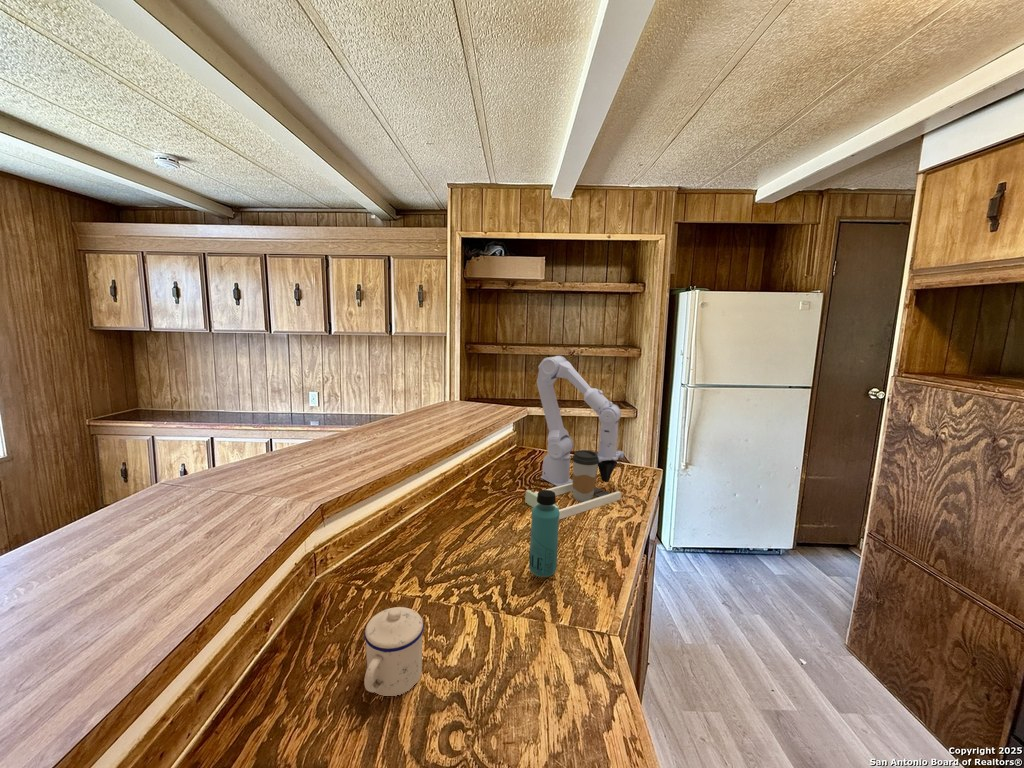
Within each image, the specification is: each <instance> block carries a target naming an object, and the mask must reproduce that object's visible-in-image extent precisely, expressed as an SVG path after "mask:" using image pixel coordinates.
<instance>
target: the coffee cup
mask: <svg viewBox="0 0 1024 768" xmlns="http://www.w3.org/2000/svg"><path fill="white" fill-rule="evenodd" d="M598 463H599V458H598V452H595V451H592V450H585V449H582V450H580V449H579V450H575V451H574V454H573V455H572V480H573V491H572V496H573V499H574V500H575V501H578V502H579V503H582V502H585V501H589V500H592V499H594V495H595V494H594V488H595V487H596V480H597V472H598V468H599V467H598Z"/></svg>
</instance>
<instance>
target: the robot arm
mask: <svg viewBox="0 0 1024 768" xmlns="http://www.w3.org/2000/svg"><path fill="white" fill-rule="evenodd" d="M537 367H538V373H537V379H536V387H537V390H538V395H539V397H540V398H539V399H540V402H541V406H542V410H543V414H544V418H545V422H546V425H547V429H548V433H547V434H548V435H547V440H546V441H547V448H546V449H547V454H545V456H544V457H543V460H542V461H543V462H542V475H541V476H540V478H541V479H543V480H544V481H547V482H548V483H550V484H552V485H554V486H555V487H557V486H561V485H565V484H569V483H572V482H573V478H572V479H571V478H570V470H571V469H570V467H571V451H573V449H574V445H575V444H574V441H573V438H571V436H570V434H569V431H568V430H567V429H566V428H565V427H564V422H563V419H562V415H561V411H560V406H559V402H558V400H557V399H558V398H557V396H556V392H555V387H554V384H555V382H556V381H557V379H558V378H560V379H566V380H567V381H568V382H570V383H571V385H573V386H574V387H575V388H576V389H577V390H578V391H579V392H580V393H581V394H582V395H583V401H584V402H585V404H587V405H588V406H589V407H590V408H591V409H592V410H593V411H594V412H595V413H596V415H598V420H599V422H600V428H599V429H600V430H599V443H598V452H597V454H598V458H599V463H598V467H597V468H598V470H599V473H600V479H601V480H600V481H601V482H604V483H609V482H610V478H611V475H612V474H613V471H614V469H615V468H616V467H617V465H618V460H619V458H620V459H622V458H623V459H624V455H625V453H624V451H622V450H617V448H618V437H619V436H618V434H619V420H620V419H621V417H622V411H621V408H620V407H619V405H617V404H614V403H613V402H612V401H611V400H609V399H608V398H607V397H606V396H605V395H603V393H604V391H602V390H601V389H598V388H595V387H594V388H593V387H591V386H590V385H589V384H588V383H587V381H586V380H585V379H584V377H582V376H581V375H580V373H579V372H578V371H577V370H576V369H575V367H573V365H572V363H571V362H570V361H568V360H567V359H566V358H565V357H564V356H563V355H555V356H551V357H545V358H543V359H542V360H541V362H540V363H539V364H538V366H537Z"/></svg>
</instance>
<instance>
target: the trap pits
mask: <svg viewBox="0 0 1024 768" xmlns="http://www.w3.org/2000/svg"><path fill="white" fill-rule="evenodd" d="M601 491H602V492H601ZM608 494H611V493H610V492H608V491H604V490H603V489H602V488H599V487H597V486H595V488H594V494H593V495H594V496H595V497H596V498H598V497H601V496H605V495H608Z"/></svg>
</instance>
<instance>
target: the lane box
mask: <svg viewBox="0 0 1024 768" xmlns="http://www.w3.org/2000/svg"><path fill="white" fill-rule="evenodd" d="M545 490H550V491H553V492H554V493H555V497H557V496H559V495H563V494H567V493H570V492H573V482H572V483H569V484H565V485H561V486H554V487H550V488H547V489H545ZM538 492H539V491H535V492H534V493H535V494H537V495H538ZM621 495H622V492H621V491H620V490H618V491H614V492H611V493H610V494H608V495H605V496H601V497H595V498H593V499H592V500H589V501H585V502H579V503H576V504H573V505H571V506H570V505H569V506H567V507H564V508H561V509H560V508H559V512H560V515H559V521H560V520H562V519H566V518H569V517H571V516H575V515H578V514H581V513H583V512H587V511H590V510H593V509H596V508H598V507H601V506H605V505H608V504H611V503H613V502H617V501H621V498H622V497H621Z"/></svg>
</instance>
